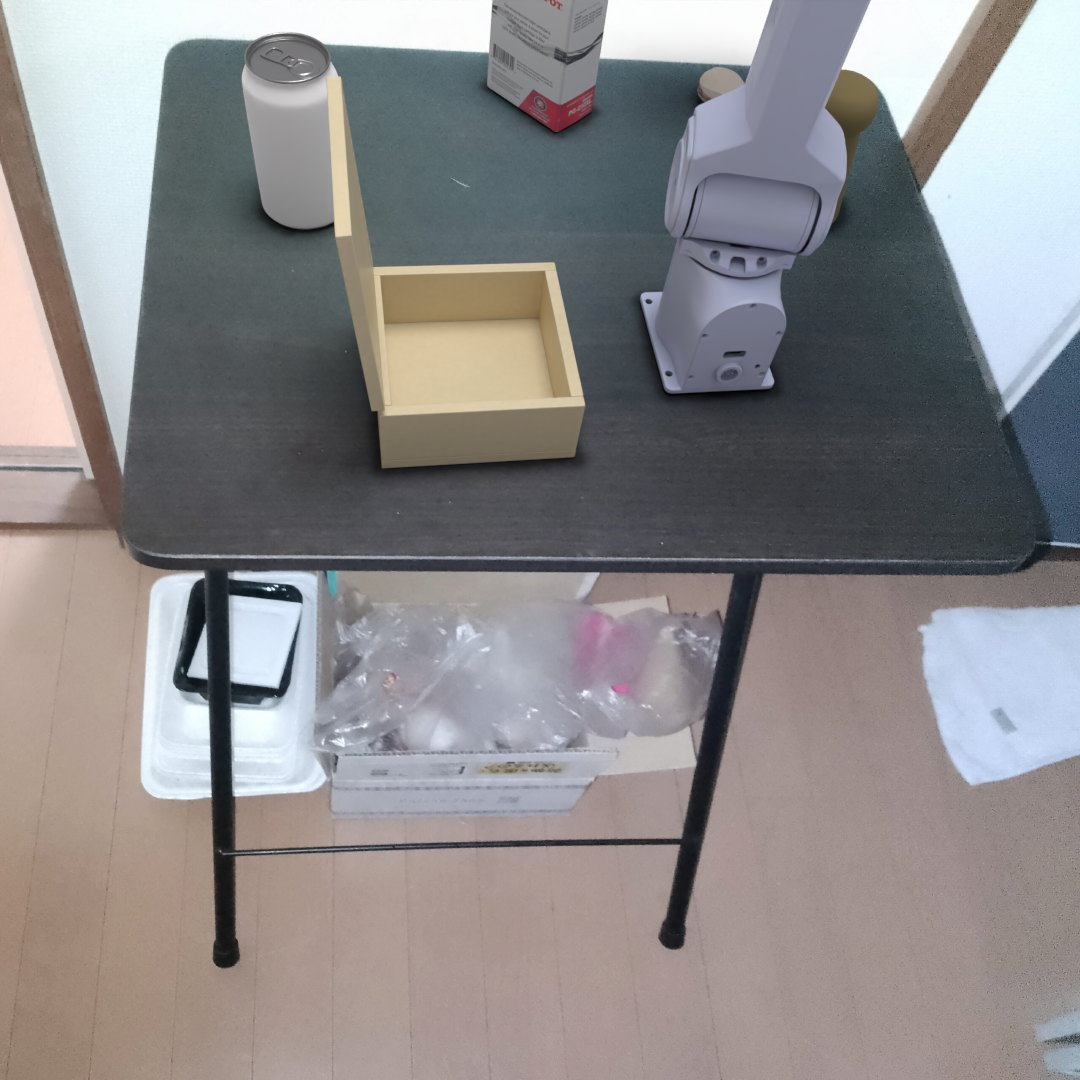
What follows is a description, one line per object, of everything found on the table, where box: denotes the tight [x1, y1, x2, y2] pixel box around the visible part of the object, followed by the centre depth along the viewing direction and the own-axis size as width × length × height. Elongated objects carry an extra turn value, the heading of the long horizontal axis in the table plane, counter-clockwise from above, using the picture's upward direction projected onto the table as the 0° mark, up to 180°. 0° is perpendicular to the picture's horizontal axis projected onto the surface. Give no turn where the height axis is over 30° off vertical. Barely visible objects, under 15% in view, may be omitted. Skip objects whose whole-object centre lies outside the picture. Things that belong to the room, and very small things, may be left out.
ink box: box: [486, 0, 609, 133], centre depth 81 cm, size 8×5×12 cm, turn 47°
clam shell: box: [697, 66, 745, 103], centre depth 87 cm, size 4×5×2 cm
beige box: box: [373, 261, 586, 469], centre depth 65 cm, size 13×13×5 cm
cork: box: [825, 69, 880, 225], centre depth 77 cm, size 6×6×11 cm
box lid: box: [326, 75, 385, 412], centre depth 56 cm, size 13×13×1 cm
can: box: [241, 31, 339, 231], centre depth 71 cm, size 6×6×12 cm
